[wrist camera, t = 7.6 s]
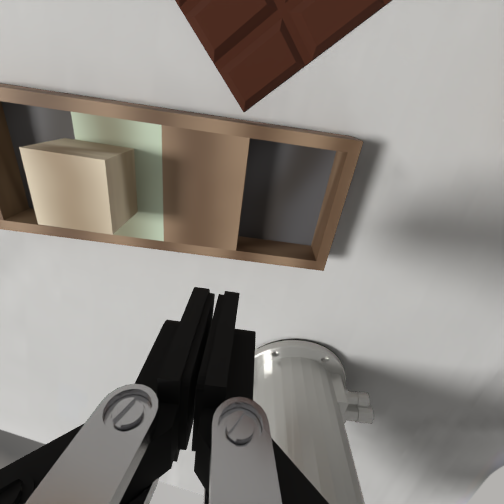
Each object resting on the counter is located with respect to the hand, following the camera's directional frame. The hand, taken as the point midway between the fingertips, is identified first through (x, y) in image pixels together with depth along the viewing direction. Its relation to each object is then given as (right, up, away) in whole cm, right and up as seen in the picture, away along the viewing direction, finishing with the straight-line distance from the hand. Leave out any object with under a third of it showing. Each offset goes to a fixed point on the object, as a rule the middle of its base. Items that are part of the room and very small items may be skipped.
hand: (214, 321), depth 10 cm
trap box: (-5, +9, +12) cm, 15 cm away
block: (-9, +8, +9) cm, 15 cm away
